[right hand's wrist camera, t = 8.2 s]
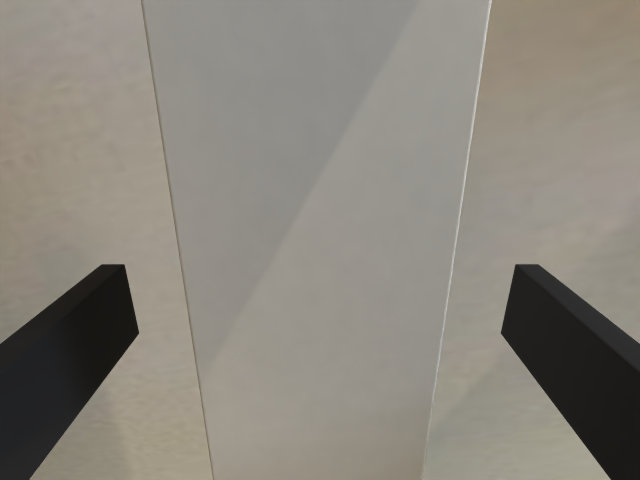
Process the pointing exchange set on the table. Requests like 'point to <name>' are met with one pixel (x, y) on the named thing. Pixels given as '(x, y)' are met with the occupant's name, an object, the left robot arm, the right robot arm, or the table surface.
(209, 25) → the bar
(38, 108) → the table surface
